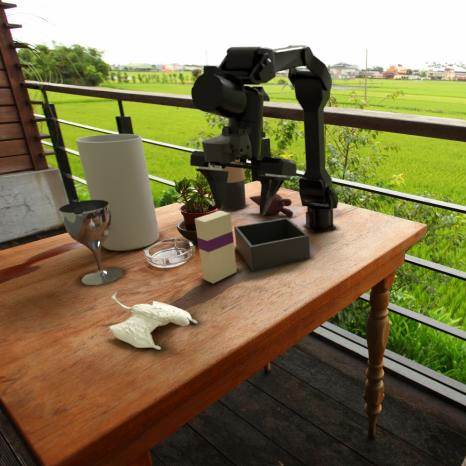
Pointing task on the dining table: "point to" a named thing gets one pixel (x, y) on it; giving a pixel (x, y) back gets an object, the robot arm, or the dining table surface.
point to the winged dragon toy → (147, 322)
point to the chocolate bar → (216, 245)
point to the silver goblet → (90, 233)
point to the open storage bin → (271, 243)
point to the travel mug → (234, 189)
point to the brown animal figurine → (276, 205)
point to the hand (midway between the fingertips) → (240, 211)
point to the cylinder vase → (121, 187)
